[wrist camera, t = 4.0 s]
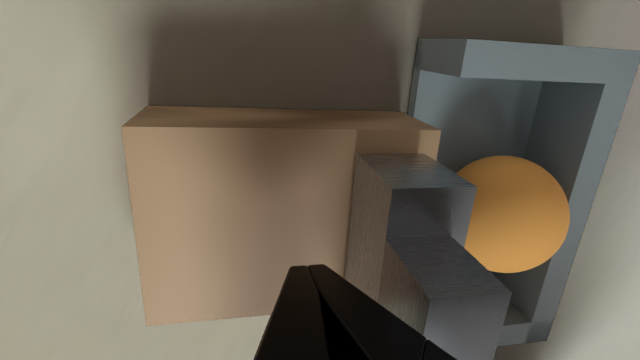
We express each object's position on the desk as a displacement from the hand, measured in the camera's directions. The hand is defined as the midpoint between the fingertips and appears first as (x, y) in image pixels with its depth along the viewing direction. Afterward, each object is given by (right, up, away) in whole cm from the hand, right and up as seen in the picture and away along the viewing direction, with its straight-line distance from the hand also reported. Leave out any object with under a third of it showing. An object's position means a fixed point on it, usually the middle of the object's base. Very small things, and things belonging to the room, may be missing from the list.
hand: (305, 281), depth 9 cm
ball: (+7, +1, +4) cm, 8 cm away
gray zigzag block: (+2, +1, +2) cm, 3 cm away
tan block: (-1, +2, +5) cm, 5 cm away
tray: (+6, +2, +6) cm, 9 cm away
